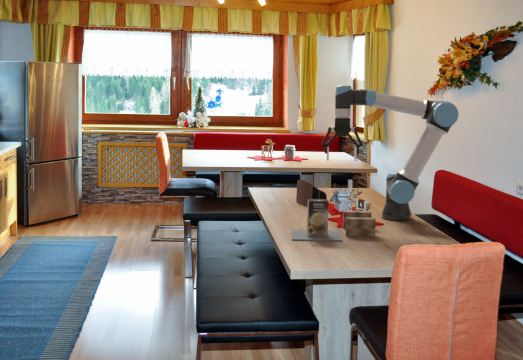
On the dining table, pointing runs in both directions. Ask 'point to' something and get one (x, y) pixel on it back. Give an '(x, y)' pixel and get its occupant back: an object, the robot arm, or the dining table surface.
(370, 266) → the dining table surface
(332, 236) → the rubber mat
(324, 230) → the coffee box
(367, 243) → the dining table surface
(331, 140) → the robot arm
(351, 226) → the packet holder
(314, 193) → the letter holder
